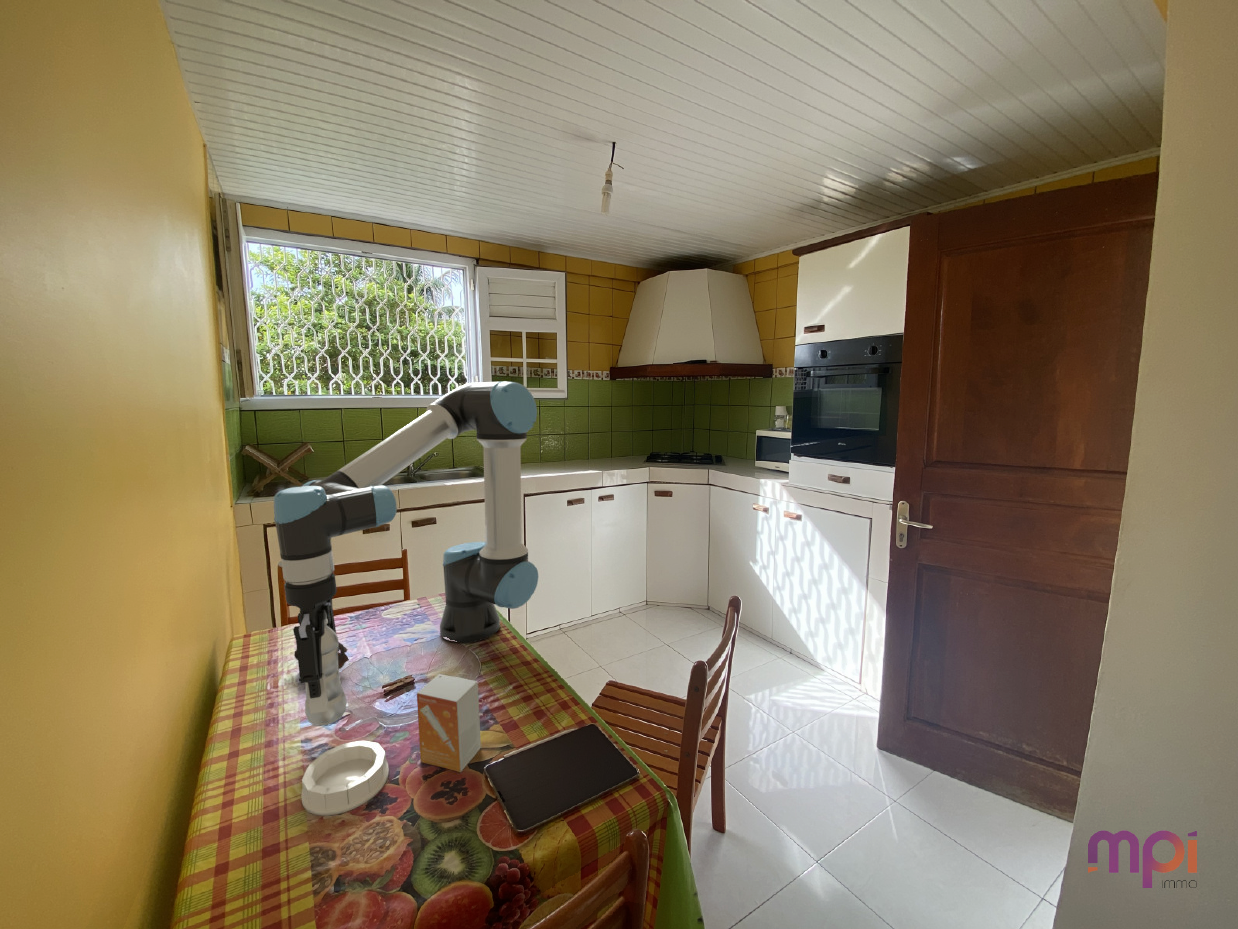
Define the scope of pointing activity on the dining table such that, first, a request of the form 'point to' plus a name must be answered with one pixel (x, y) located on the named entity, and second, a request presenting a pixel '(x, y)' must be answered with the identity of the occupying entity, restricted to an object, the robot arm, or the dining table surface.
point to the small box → (449, 722)
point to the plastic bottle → (329, 681)
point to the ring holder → (344, 778)
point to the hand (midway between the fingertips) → (325, 699)
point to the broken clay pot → (341, 656)
